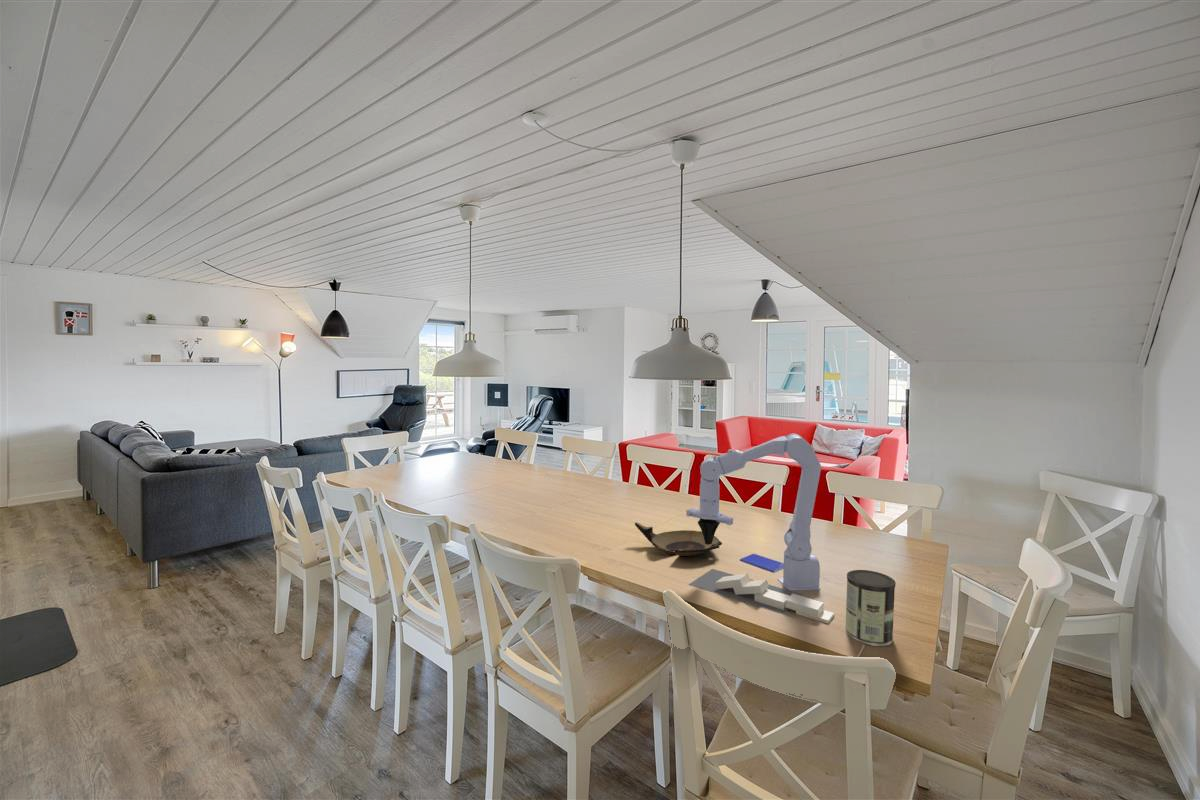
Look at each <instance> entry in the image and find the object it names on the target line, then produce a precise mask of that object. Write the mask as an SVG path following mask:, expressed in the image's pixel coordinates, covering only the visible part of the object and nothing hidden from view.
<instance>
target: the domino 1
mask: <svg viewBox="0 0 1200 800" xmlns="http://www.w3.org/2000/svg"><path fill="white" fill-rule="evenodd" d="M749 581H750V577H749V573H742V574H741V573H740V574H736V575H735V574H733V576H725V577H722V578H721V579H719V580H718V581H717V582H715V583H716V586H717V589H725V588H734V587H743V586H744V585H745V584H746V583H748V582H749Z"/></svg>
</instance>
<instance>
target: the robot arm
mask: <svg viewBox="0 0 1200 800" xmlns="http://www.w3.org/2000/svg"><path fill="white" fill-rule="evenodd" d="M786 454H787V455H788V457H789V458H790V459H792V460H794V461H795V462H796V463H797V464H798V465H799V466H800V467H801V474H800V478H799V484H798V490H797V494H796V499H795V505H794V510H793V515H792V521H791V522H790V524H789V527H788V529H787V531H786V532H785V534H784V536H783V538H784V544H785V545H786V546H787V547H786V549H785V550H784V552H783V563H784V568H783V570H782V571H783V572H782V573H783V576H782V577H778V578H777V581H778V582H779V583H781V584H782V585H783V587H785V589H786V590H790V591H793V592H796V591H813V590H814V591H816V590H821V589H822V588H821V587H820V579H821V578H820V576H821V574H820V573H821V572H820V571H821V570H820V569H821V566H820V562H819V559H818V557H817V556H816V555H814V554H812V551H813V549H812V544H811V523H812V518H813V513H814V512H813V511H814V509H815V502H816V497H817V492H818V486H819V481H820V477H821V476H820V475H821V470H822V465H821V462H820V460H819V459H818V456H817V454H816V452H815V448H814V447H813V446H812V444H810V443H809V442H808V441H807V440H806V439H805V438H803V437H802V436H801V435H799V434H798V433H790V434H787V435H783V436H778V437H776V438H773V439H770V440H767V441H766V442H763V443H760V444H758V445H756V446H753V447H751V448H749V449H746V450H743V451H741V450H738V449H734V450H733V449H732V448H730V449H728V450H727V452H725V453H722V454H720V455H713V456H712V458H706V459H704V460H703V461H702V462H701V464H700V466H699V468H700V470H699V471H700V472H699V473H700V476H701V477H700V483H699V509H692V508H688V509H686V515H685V516H686V517H692V518H697V519H699V520H698V521H697V525H698V526H699V528H700V531H702V533H703V536H704V541H705V544H707V545H710V544H712V541H713V537H714V536H715V534H716V531H717V529H718V527H719V525H720V524H725V525H727V526H732V525H733V524H734V517H731V516H728V515H725V514H723V513H720V489H721V488H720V487H721V486H720V483H719V480H720V477H721V475H722V476H724V475H727V474H730V473H733V472H735V471H739V470H741V469H744V468H745V466H746V464H747V463H749V462H751V461H754V460H758V459H760V458H761V459H762V458H764V457H767V456H770V455H778V456H782V457H785V456H786Z"/></svg>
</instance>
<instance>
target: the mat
mask: <svg viewBox="0 0 1200 800" xmlns="http://www.w3.org/2000/svg"><path fill="white" fill-rule="evenodd" d="M733 575H734V573H733V574H732V573H728V572H725V571H721V570H718V569H714V568H711V569H710V570H708V571H707V572H705V573H704V574H702V575H701V576H699V577H697V578H695V580H693V581H692V582H690V583H688V585H689V586H692V587H694V588H698V589H701V590H703V591H708V592H710V593H714V594H717V595H721V596H724V597H727V598H730V599H732V600H737V601H739V602H742V603H746V604H748V605H752V606H754V607H758V608H762V609H766V610H768V611H772V612H775V613H778V614H780V615H786V614H787V613H788V612H789V611H790V610H791V609H789V608H785V609H784V610H782V609H779V608H776V607H773V606H770V605H767V604H764V603H760V602H757V601H754V600H755V594H739V595H735V592H734V589H733V588H725V589H717V586H716V583H715V582H717V581H718V580H719V579H721V578H722V577H725V576H733ZM749 579H750V578H749ZM750 581H755V580H754V579H750ZM768 586H769V587H768V588H767V589H769V590H773V591H776V592H779V593H783V594H786V595H789V596H791V595H792V594H796V595H800V596H803V597H804V593H800V592H797V591H790V590H788V589H787V588H783V587H779V586H776V585H772V584H768Z"/></svg>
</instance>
